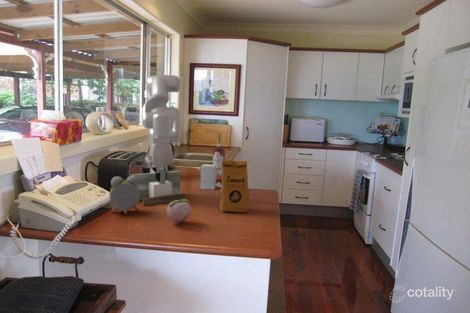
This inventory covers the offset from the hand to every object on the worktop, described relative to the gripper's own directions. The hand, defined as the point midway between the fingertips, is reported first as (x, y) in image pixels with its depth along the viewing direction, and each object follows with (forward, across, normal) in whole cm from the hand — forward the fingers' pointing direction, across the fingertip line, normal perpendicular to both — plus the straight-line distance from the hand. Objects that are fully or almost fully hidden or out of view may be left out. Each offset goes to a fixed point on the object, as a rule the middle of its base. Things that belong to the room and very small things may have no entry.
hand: (161, 180), depth 160 cm
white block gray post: (+8, 0, -1) cm, 8 cm away
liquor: (+10, -46, -23) cm, 52 cm away
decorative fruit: (+10, +7, +32) cm, 34 cm away
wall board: (+9, 0, -1) cm, 10 cm away
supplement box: (+10, -32, -11) cm, 35 cm away
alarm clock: (+10, +20, +10) cm, 24 cm away
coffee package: (+10, -21, +29) cm, 37 cm away
